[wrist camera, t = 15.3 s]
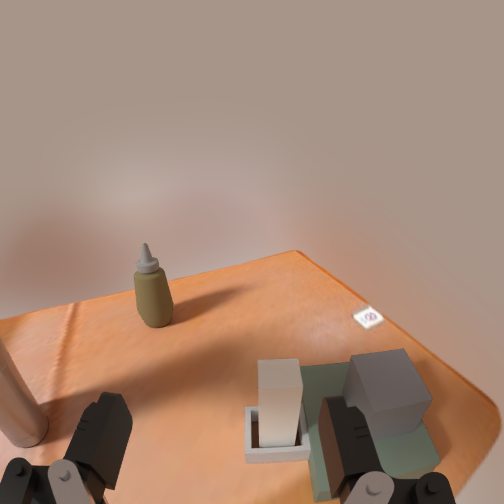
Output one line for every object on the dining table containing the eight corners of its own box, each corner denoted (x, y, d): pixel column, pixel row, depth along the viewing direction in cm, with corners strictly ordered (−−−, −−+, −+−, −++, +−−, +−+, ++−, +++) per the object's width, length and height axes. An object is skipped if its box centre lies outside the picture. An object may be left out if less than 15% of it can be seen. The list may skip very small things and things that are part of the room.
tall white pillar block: (259, 452, 34) (258, 389, 29) (258, 427, 38) (257, 359, 33) (293, 451, 34) (303, 387, 29) (290, 426, 38) (297, 358, 33)
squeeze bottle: (160, 335, 59) (144, 255, 52) (133, 324, 62) (116, 248, 55) (183, 316, 66) (172, 240, 59) (156, 307, 69) (144, 235, 62)
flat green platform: (245, 507, 26) (241, 473, 22) (245, 385, 46) (242, 334, 42) (428, 474, 26) (465, 429, 22) (384, 373, 46) (399, 323, 42)
